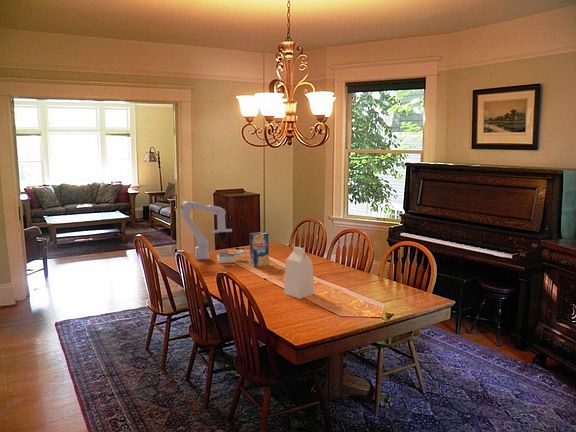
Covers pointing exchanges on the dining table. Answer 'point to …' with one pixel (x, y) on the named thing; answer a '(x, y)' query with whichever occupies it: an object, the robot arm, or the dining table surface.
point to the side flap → (239, 252)
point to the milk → (298, 274)
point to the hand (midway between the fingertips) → (222, 242)
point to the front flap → (223, 254)
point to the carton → (226, 258)
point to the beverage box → (259, 249)
